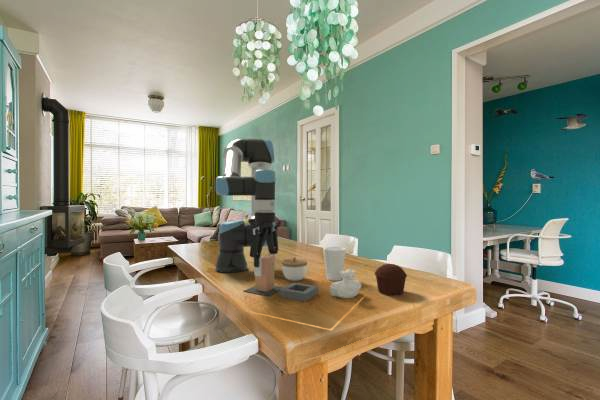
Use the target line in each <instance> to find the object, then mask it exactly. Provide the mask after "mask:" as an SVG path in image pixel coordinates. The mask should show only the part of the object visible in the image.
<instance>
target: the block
mask: <svg viewBox="0 0 600 400" xmlns="http://www.w3.org/2000/svg"><path fill="white" fill-rule="evenodd" d="M260 258H262V276H261V277H260V276H254V282H255V283H254V286H255V290H259V291H264V292H267V291H269V290H271V289H274V286H275V271H274V256H268V254H267V255H266V254H262V255H261V256H260Z"/></svg>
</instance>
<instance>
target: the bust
mask: <svg viewBox="0 0 600 400" xmlns="http://www.w3.org/2000/svg"><path fill="white" fill-rule="evenodd" d="M356 271H357V270H356V269H354V270H352V269H351V268H346V269H345V270H343V271H340V273H341V274H342V279H341V280H338V281H333V282H332V283H331V284H330V286H329V292H330V296H332V297H338V298H342V299H354V298H355V297H357V295H358V294H359V292H360V290H361V289H362V282H361V281H360V280H357V279H355V277H356V274H357V272H356Z"/></svg>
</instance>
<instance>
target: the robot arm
mask: <svg viewBox="0 0 600 400" xmlns="http://www.w3.org/2000/svg"><path fill="white" fill-rule="evenodd" d="M222 159H223V160H224V161H223V167H222V168H223V169H222V175H221V176H220V175H219V176H217V177H216V178H215V193H216V195H218V196H225V197H228V196H232V197H233V196H251V198H250V199H251V201H250V202H251V204H250V205H251V210H250V211H251V216H250V217H249V218H248V219H247V220H248V222H245V220H243V219H236V220H228V221H225V222H221V223H220V224H219V227H218V230H219V231H218V234H219V235H218V236H219V237H218V239H219V241H218V256H217V260H216V263H215V265H214V270H215V271H216V272H218V271H219V273H239V272H244V271H246V270H248V262H247V260H246V256H245V252H244V251H245V249H244V248H250V249H249V257H251V258H253V269H254V272H253V274H254V275H253V276H254V277H255V276H260V277H261V276H262V258H260V256H261V254H262V250H263V248H264V247H267V249H268V253H267V255H268V256H274V272H276V271H275V270H276V269H275V268H276V267H275V265H276V264H275V260H276V254H278V251H279V239H278V225H276V212H274V211H276V172H275V170H273V169H270V168H271V167H272V164H273V163H275V150H274V145H273V142H272V140H270V139H264V138H261V139H260V138H259V139H258V138H238V139H235V140H232V141H231V142H229V143H228V144H227V145H226V146H225V148H224V149H223V151H222ZM243 162H245V163H248V167H249V168H250V169H251V170H250V172H251V176H242V173H241V172H242V163H243Z"/></svg>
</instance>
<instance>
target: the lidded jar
mask: <svg viewBox="0 0 600 400" xmlns="http://www.w3.org/2000/svg"><path fill="white" fill-rule="evenodd" d="M281 269H282V275H283V277H284V278H285V279H286V280H288V281H290V282H297V281H301V280H303V279H304V278H305V276H306V274H307V269H308V261H307V260H305V259H302V258H300V259H299V258H297V257H293V258H290V259H289V258H288V259H284V260H282V261H281Z"/></svg>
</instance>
